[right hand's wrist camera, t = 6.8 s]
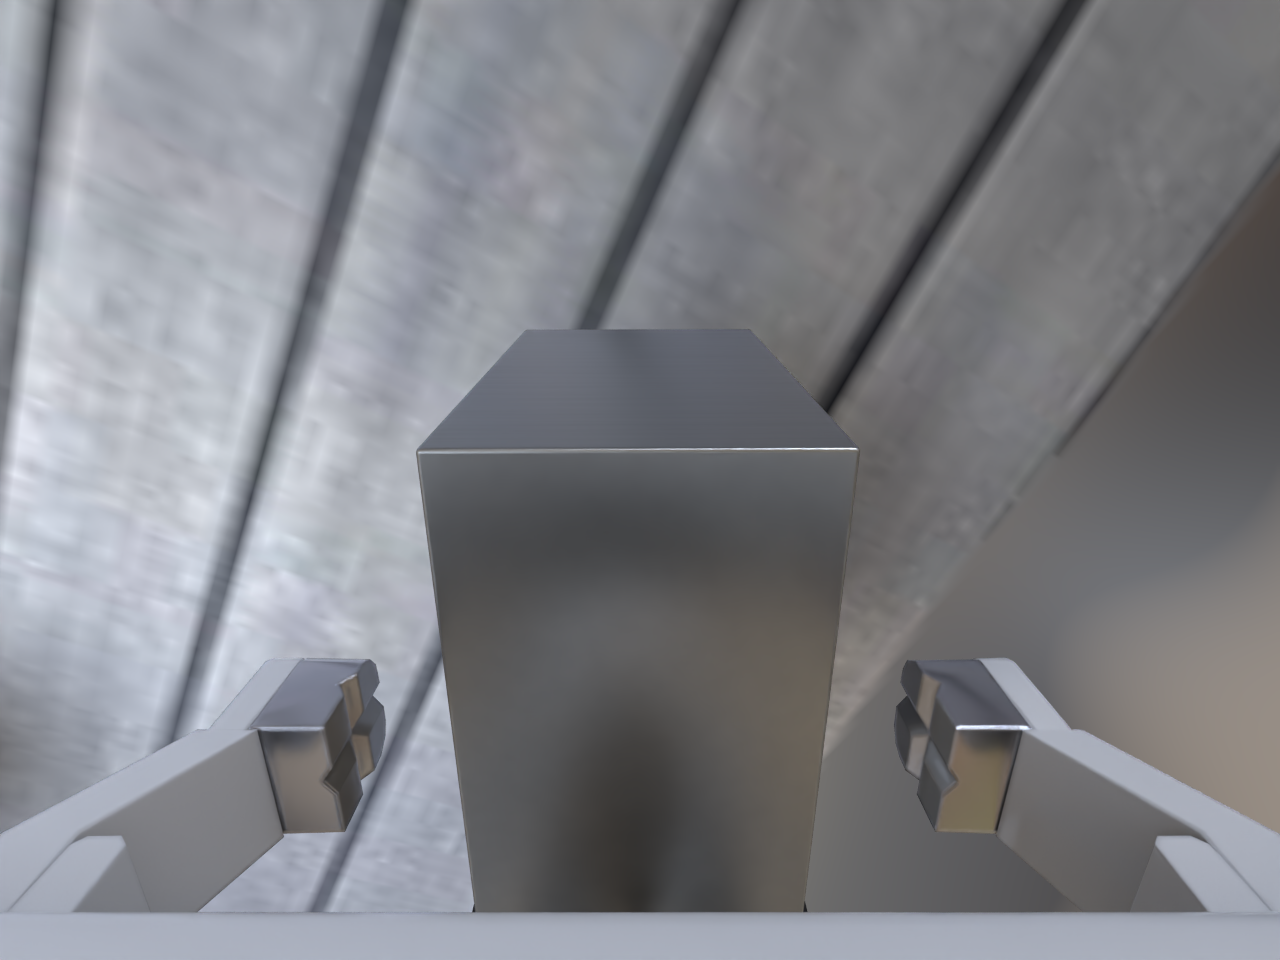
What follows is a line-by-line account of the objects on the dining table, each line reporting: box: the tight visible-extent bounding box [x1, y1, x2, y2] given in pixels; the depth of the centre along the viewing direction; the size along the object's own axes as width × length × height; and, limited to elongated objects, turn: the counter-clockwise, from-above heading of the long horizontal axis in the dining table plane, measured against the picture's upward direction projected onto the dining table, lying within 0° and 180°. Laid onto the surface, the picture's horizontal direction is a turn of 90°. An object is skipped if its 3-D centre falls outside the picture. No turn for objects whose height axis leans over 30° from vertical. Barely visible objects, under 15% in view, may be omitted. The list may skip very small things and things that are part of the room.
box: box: [416, 329, 860, 912], centre depth 18 cm, size 21×6×10 cm, turn 0°
